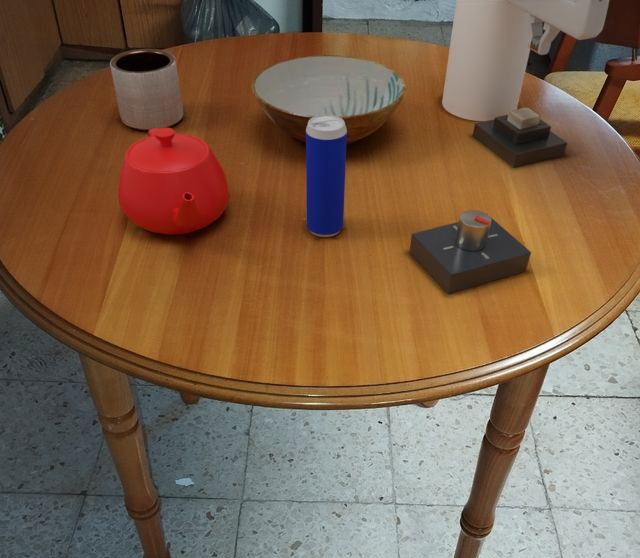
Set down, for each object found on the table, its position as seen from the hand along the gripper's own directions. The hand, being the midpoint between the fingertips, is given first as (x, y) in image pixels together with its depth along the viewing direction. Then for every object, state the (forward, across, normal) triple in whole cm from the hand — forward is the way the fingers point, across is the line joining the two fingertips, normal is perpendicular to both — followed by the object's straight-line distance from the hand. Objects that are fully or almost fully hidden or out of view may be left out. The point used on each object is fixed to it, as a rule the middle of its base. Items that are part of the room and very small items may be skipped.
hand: (537, 51), depth 102 cm
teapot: (+15, +1, +58) cm, 60 cm away
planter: (+15, +34, +53) cm, 65 cm away
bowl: (+15, +17, +27) cm, 35 cm away
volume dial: (+11, -25, +26) cm, 38 cm away
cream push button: (+11, 0, 0) cm, 11 cm away
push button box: (+15, 0, 0) cm, 15 cm away
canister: (+15, +16, -3) cm, 22 cm away
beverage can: (+15, -10, +40) cm, 44 cm away
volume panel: (+14, -25, +26) cm, 39 cm away
